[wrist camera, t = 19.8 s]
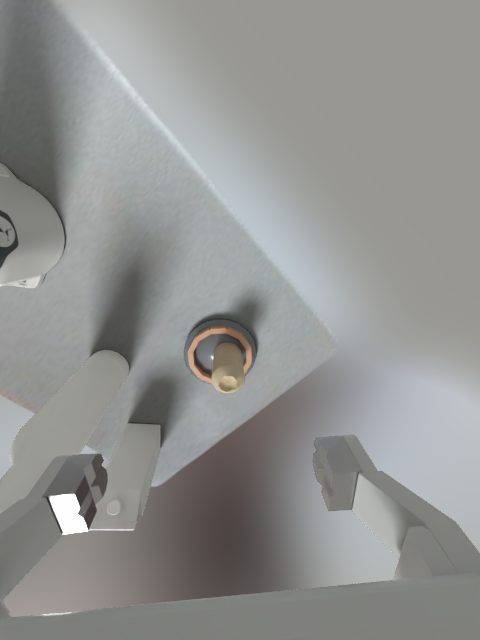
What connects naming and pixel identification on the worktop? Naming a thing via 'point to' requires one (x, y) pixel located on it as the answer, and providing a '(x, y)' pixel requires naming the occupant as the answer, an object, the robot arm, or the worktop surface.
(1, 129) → the worktop surface
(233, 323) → the tray
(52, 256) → the robot arm
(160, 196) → the worktop surface
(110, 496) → the milk carton
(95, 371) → the bottle
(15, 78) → the worktop surface
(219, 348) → the candle
